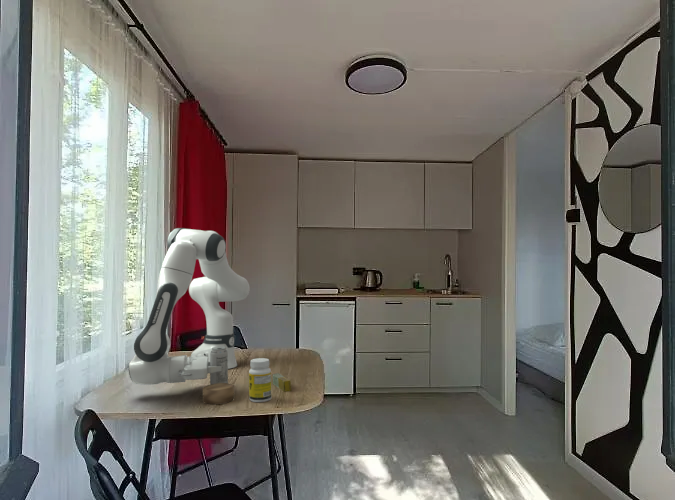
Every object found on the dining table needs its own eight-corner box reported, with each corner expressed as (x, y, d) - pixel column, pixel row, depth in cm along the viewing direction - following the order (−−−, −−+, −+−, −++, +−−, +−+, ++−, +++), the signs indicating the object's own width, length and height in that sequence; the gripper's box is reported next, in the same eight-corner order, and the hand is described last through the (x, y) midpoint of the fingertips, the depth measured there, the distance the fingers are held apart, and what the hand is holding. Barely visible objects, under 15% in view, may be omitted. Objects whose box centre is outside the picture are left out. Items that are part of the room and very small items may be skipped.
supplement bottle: (250, 396, 157) (249, 357, 158) (272, 395, 158) (271, 357, 158) (248, 403, 150) (247, 362, 150) (271, 402, 151) (270, 361, 151)
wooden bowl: (196, 402, 152) (196, 389, 152) (214, 394, 161) (214, 381, 161) (222, 405, 148) (222, 391, 148) (240, 396, 158) (240, 383, 158)
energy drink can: (222, 387, 169) (221, 345, 169) (231, 390, 165) (230, 347, 165) (207, 391, 165) (206, 348, 165) (215, 394, 161) (215, 350, 161)
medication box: (272, 384, 173) (271, 373, 173) (279, 383, 174) (278, 372, 174) (284, 392, 162) (284, 381, 162) (291, 391, 164) (291, 379, 164)
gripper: (177, 366, 152) (221, 363, 155) (182, 354, 172) (221, 351, 175) (177, 386, 152) (221, 382, 155) (182, 371, 172) (221, 368, 175)
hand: (221, 366), depth 166 cm, fingers closed on energy drink can, 5 cm apart
